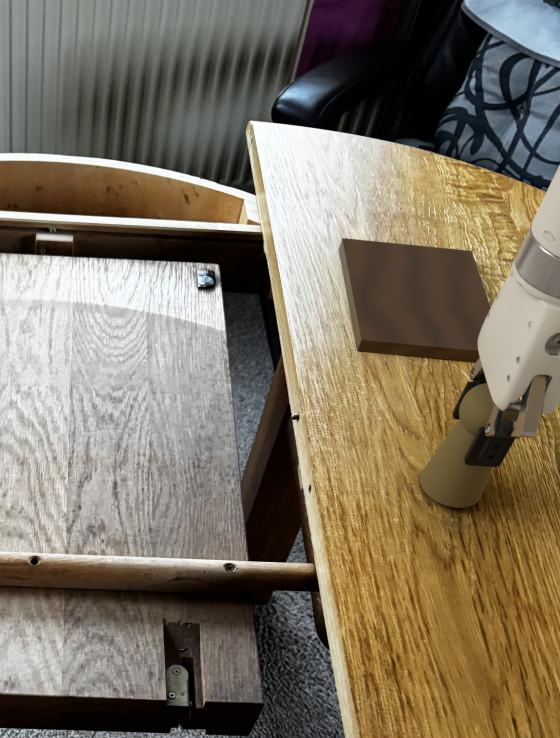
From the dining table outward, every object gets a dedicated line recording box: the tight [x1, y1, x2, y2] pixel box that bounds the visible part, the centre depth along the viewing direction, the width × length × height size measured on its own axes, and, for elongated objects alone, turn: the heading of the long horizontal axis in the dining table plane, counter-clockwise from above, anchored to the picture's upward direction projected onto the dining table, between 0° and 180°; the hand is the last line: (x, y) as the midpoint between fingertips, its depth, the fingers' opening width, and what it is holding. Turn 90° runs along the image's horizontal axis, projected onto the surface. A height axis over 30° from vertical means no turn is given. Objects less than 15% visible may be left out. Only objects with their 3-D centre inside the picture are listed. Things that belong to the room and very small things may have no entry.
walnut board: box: [338, 237, 492, 363], centre depth 108 cm, size 16×20×2 cm
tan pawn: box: [419, 383, 521, 509], centre depth 85 cm, size 6×6×11 cm
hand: (475, 439), depth 85 cm, fingers closed on tan pawn, 5 cm apart
